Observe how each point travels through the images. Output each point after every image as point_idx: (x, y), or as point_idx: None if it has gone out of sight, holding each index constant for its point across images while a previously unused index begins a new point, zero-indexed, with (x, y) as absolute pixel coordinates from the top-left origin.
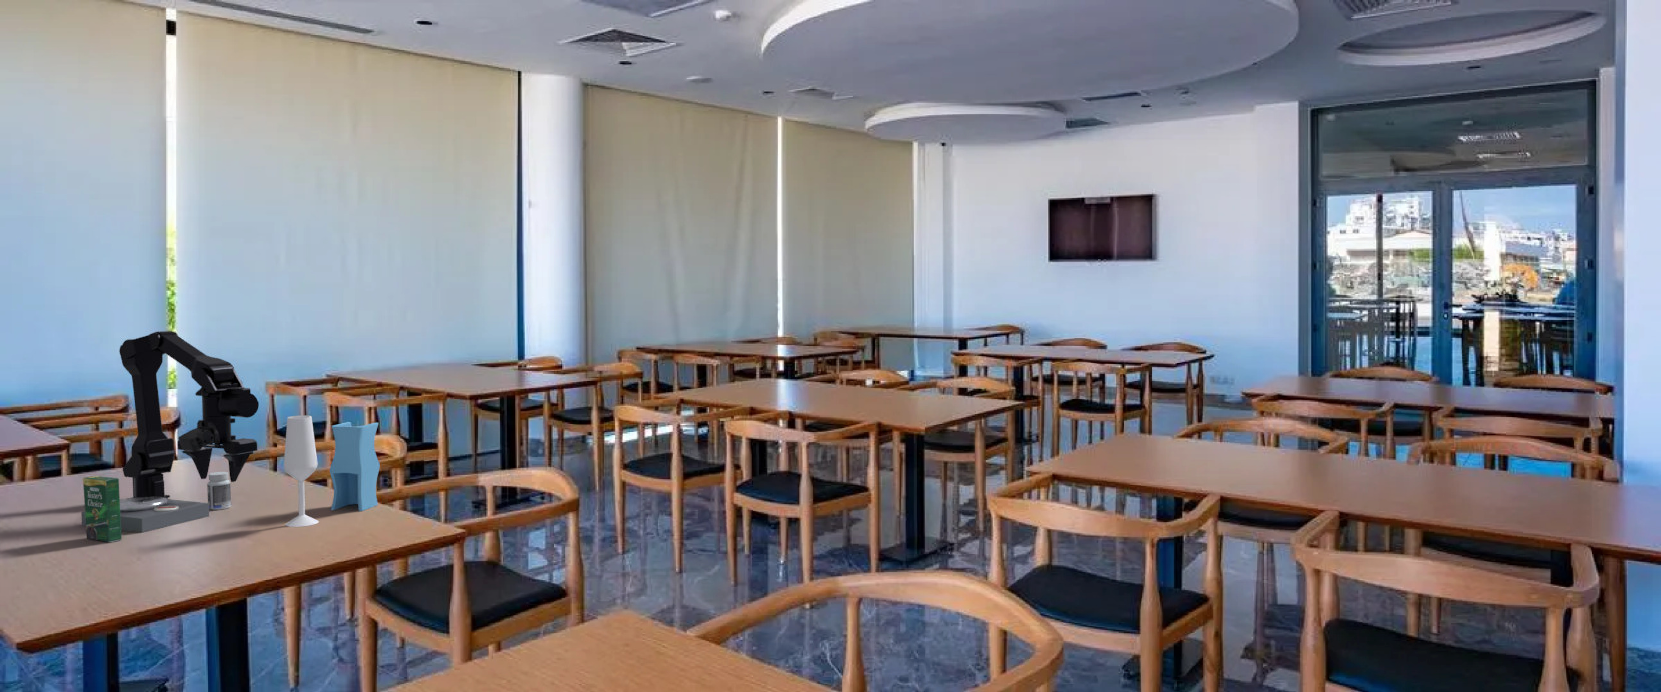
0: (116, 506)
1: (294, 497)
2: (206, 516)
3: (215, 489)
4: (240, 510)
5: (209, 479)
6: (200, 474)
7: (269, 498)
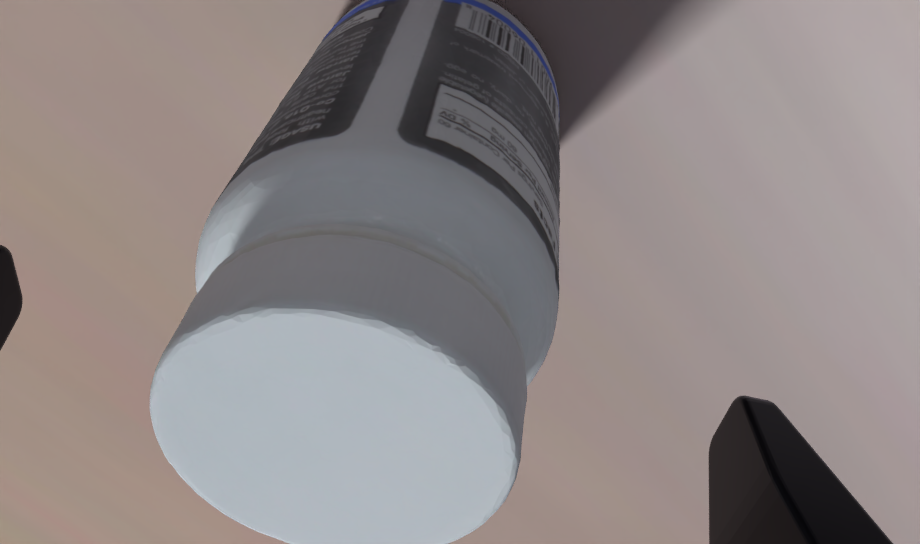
0: None
1: (144, 496)
2: None
3: (305, 111)
4: (88, 20)
5: (441, 265)
6: (793, 460)
7: None
